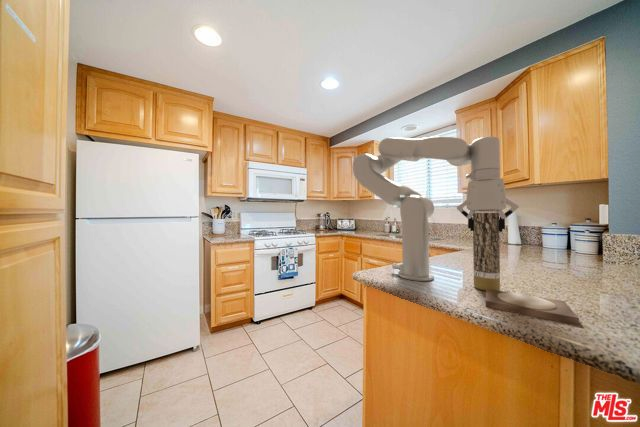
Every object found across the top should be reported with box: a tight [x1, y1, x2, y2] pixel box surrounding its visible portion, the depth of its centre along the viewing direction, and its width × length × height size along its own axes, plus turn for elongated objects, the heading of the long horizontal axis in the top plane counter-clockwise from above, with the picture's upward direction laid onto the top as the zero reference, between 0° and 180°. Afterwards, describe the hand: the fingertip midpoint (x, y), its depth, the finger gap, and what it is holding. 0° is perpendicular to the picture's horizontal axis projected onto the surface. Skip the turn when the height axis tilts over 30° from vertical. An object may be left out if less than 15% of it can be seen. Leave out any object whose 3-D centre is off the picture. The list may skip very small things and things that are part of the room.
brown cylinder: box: [472, 211, 501, 292], centre depth 71 cm, size 7×7×25 cm
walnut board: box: [485, 289, 580, 326], centre depth 57 cm, size 16×12×2 cm
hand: (485, 230), depth 72 cm, fingers closed on brown cylinder, 6 cm apart
